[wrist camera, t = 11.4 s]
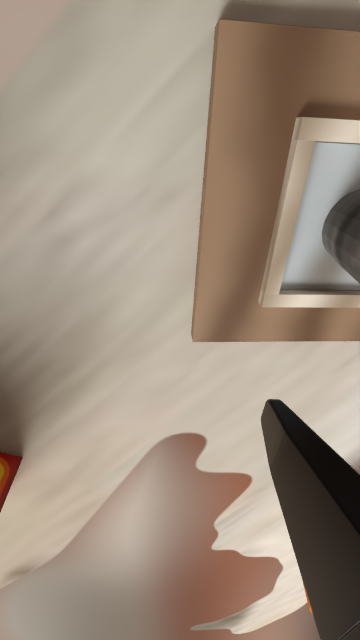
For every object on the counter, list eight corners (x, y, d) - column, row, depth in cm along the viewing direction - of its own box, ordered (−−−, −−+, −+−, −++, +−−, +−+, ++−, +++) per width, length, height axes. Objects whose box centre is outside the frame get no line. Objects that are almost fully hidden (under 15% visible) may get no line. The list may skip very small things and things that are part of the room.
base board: (191, 333, 24) (194, 348, 22) (215, 27, 15) (223, 13, 13) (422, 332, 26) (441, 346, 24) (576, 58, 16) (625, 49, 15)
